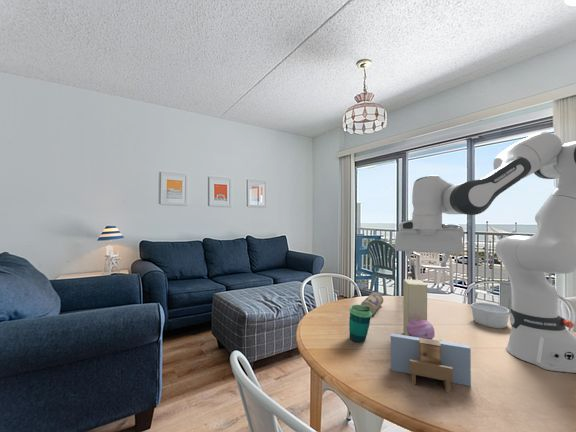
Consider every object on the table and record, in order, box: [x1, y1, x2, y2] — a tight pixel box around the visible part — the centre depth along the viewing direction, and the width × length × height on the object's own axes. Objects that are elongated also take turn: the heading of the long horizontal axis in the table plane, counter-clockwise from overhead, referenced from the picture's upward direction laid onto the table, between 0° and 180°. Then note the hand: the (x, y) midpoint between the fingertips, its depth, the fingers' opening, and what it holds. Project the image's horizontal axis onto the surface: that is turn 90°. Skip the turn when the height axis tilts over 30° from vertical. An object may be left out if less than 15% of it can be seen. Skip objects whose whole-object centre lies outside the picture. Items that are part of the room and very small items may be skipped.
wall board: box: [390, 333, 472, 393], centre depth 74 cm, size 20×8×10 cm, turn 67°
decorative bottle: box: [360, 292, 384, 316], centre depth 130 cm, size 26×8×7 cm, turn 148°
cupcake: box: [406, 319, 435, 340], centre depth 93 cm, size 9×9×10 cm
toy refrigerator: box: [402, 278, 428, 336], centre depth 101 cm, size 8×7×21 cm
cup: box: [348, 304, 373, 344], centre depth 99 cm, size 8×8×12 cm
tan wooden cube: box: [419, 338, 441, 365], centre depth 73 cm, size 5×4×7 cm
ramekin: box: [470, 302, 510, 329], centre depth 115 cm, size 13×13×7 cm
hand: (427, 265), depth 89 cm, fingers open, 8 cm apart
